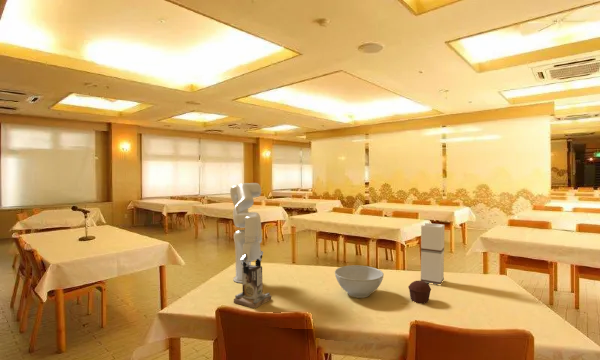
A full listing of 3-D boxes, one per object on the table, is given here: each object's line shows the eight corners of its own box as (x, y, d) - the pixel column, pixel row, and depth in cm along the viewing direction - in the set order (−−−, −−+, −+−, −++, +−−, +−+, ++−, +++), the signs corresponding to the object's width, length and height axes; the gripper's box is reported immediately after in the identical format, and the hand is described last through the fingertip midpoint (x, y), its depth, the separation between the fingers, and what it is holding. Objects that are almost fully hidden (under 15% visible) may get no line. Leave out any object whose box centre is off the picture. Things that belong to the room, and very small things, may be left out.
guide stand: (251, 294, 188) (251, 287, 188) (271, 299, 181) (271, 292, 181) (233, 302, 176) (233, 296, 176) (254, 308, 169) (254, 301, 169)
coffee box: (263, 296, 180) (262, 266, 179) (257, 300, 174) (257, 269, 173) (248, 293, 183) (247, 264, 183) (242, 298, 177) (241, 267, 177)
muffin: (419, 306, 171) (419, 286, 170) (403, 298, 181) (403, 280, 180) (435, 301, 176) (436, 283, 176) (419, 294, 186) (419, 276, 186)
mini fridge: (443, 280, 209) (444, 224, 207) (440, 285, 200) (441, 227, 198) (424, 277, 215) (425, 223, 213) (420, 282, 206) (421, 225, 204)
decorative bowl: (387, 289, 195) (387, 268, 194) (377, 306, 170) (377, 283, 170) (343, 282, 206) (343, 263, 205) (328, 298, 182) (328, 276, 181)
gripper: (257, 235, 187) (257, 265, 188) (235, 241, 172) (235, 274, 173) (267, 236, 183) (267, 267, 184) (246, 243, 168) (246, 277, 169)
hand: (252, 270), depth 178 cm, fingers open, 9 cm apart
